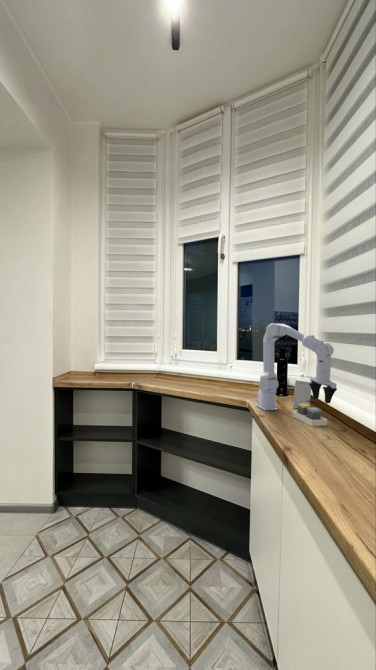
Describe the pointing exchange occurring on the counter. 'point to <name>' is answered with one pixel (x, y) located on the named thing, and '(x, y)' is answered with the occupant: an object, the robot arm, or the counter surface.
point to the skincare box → (301, 392)
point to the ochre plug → (303, 408)
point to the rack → (309, 421)
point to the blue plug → (313, 413)
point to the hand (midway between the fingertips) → (321, 400)
